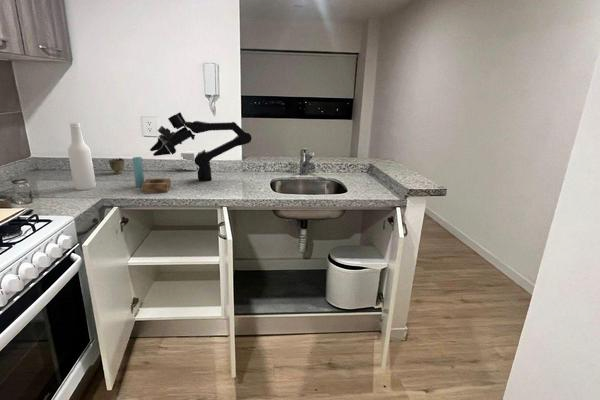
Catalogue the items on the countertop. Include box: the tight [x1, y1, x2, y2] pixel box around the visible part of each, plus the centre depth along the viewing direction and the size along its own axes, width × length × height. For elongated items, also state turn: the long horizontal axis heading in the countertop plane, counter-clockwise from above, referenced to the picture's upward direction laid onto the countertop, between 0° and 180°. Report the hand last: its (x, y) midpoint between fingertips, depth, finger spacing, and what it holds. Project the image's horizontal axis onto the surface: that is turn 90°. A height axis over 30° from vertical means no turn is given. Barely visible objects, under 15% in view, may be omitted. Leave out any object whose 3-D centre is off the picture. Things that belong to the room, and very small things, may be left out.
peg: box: [132, 156, 145, 188], centre depth 166 cm, size 4×4×14 cm
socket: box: [141, 178, 172, 194], centre depth 163 cm, size 11×11×4 cm
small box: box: [180, 152, 195, 161], centre depth 204 cm, size 8×6×10 cm
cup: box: [108, 157, 125, 175], centre depth 190 cm, size 8×7×8 cm
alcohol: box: [67, 122, 97, 191], centre depth 158 cm, size 9×9×30 cm
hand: (151, 152), depth 170 cm, fingers open, 9 cm apart
